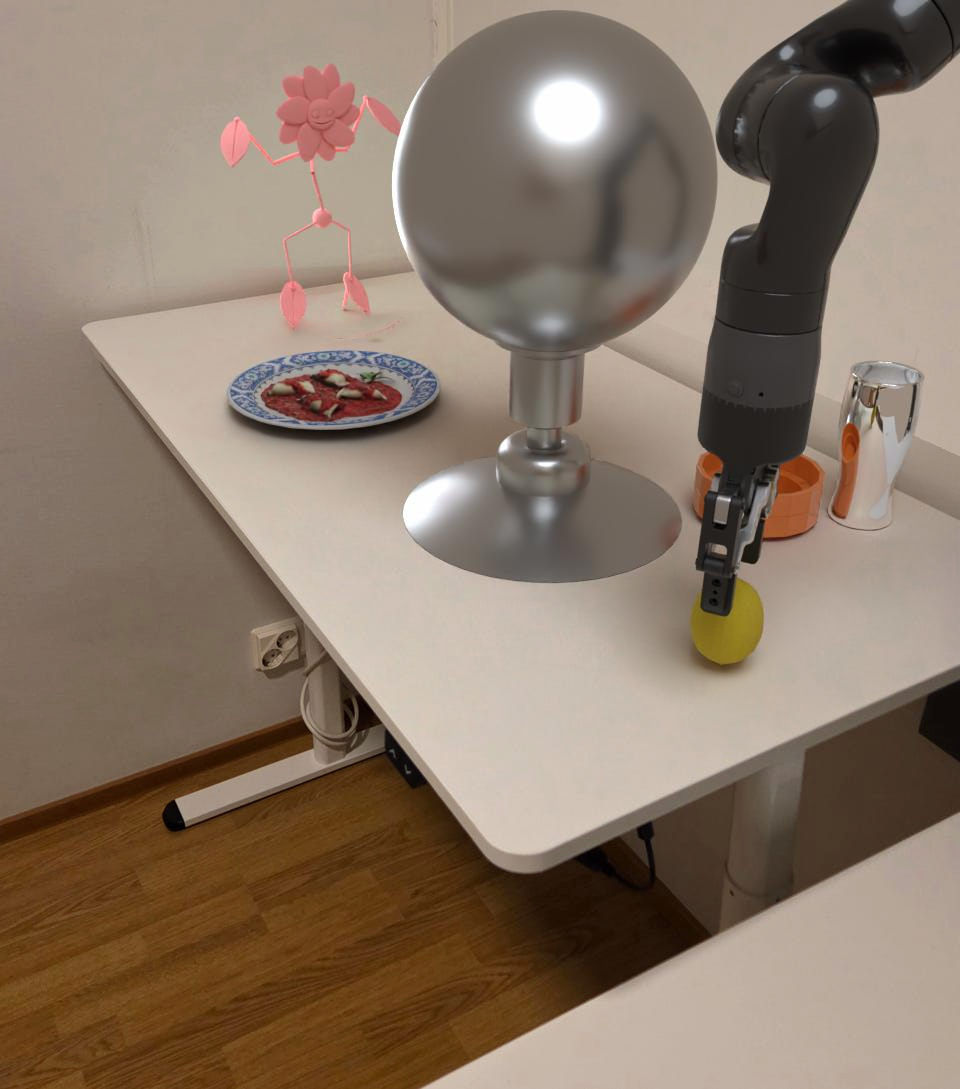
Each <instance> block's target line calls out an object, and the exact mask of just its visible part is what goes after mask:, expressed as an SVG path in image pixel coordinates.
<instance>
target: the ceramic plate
mask: <svg viewBox="0 0 960 1089" xmlns="http://www.w3.org/2000/svg"><path fill="white" fill-rule="evenodd" d="M441 385H442V383H441V380H440V377H439V376H438V375H437V373H435V371H434V370H432V369H431V368H430V367H429V366H426V365H425V364H423V363H421V362H419V361H416V360H414V359H410V358H408V357H404V356H400V355H397V354H392V353H386V352H379V351H372V350H371V351H370V350H358V349H357V350H356V349H355V350H354V349H351V350H350V349H348V350H347V349H332V350H319V351H318V350H317V351H309V352H301V353H294V354H289V355H285V356H280V357H276V358H273V359H270V360H267V361H264V362H261V363H259V364H256V365H253V366H251V367H249V368H247V369H245V370H244V371H242V372H240V373H239V374H238V375H236V376H235V377H234V378H233V379H232V380H231V381H230V382H229V384H228V385H227V387H226V391H225V392H226V394H225V395H226V398H227V402H228V403H229V405H230V406H231V407H232V408H233V409H234V410H235V411H237V412H238V413H240V414H241V415H243V416H245V417H246V418H250V419H252V420H254V421H258V422H260V423H264V424H267V425H271V426H278V427H283V428H289V429H295V430H296V429H299V430H316V431H317V430H319V431H323V430H325V431H329V430H347V429H355V428H356V429H358V428H367V427H371V426H376V425H381V424H384V423H386V424H387V423H389V422H393V421H397V420H399V419H403V418H406V417H408V416H411V415H413V414H416V413H417V412H419V411H421V410H423V409H425V408H426V407H427V406H429V405H431V404H432V403H433V402H434V401H435V399H437V398H438V396H439V394H440V391H441Z"/></svg>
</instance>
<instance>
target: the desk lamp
mask: <svg viewBox="0 0 960 1089" xmlns="http://www.w3.org/2000/svg"><path fill="white" fill-rule="evenodd" d="M709 121H710V120H709V119H708V116H707V113H706V110H705V107H704V106H703V104H702V101H701V99H700V98H699V96H698V93H697V92H696V90H695V88H694V87H693V85H692V83H691V81H689V79H688V77H687V76H686V75H685V73H684V72H683V71H682V69H681V68H680V67H679V66H678V65H677V63H676V62H675V61H674V60H673V59H672V58H671V57H670V56H669V54H667V53H666V52H665V51H664V50H663V49H662V48H660V47H659V46H658V45H657V44H656V43H654V42H653V41H652V40H651V39H649V37H646V36H645V35H644V34H642V33H641V32H639V31H636V29H633V28H632V27H629V26H628V25H626V24H624V23H621V22H619V21H616V20H615V19H612V18H608V17H605V16H603V15H598V14H595V13H590V12H585V11H578V10H568V9H552V10H551V9H550V10H549V9H548V10H539V11H532V12H526V13H522V14H518V15H513V16H510V17H508V18H505V19H502V20H500V21H497V22H495V23H493V24H490V25H488V26H487V27H485V28H482V29H481V30H479V31H477V32H476V33H474V34H473V35H470V36H469V37H468V38H467V39H465V40H463V41H462V42H460V44H459V45H457V46H456V47H454V48H453V49H452V50H451V51H450V52H448V54H447V55H446V56H444V58H443V59H442V60H441V61H439V63H438V64H437V65H436V66H435V67H434V69H433V70H432V71H431V72H430V73H429V74H428V76H427V78H426V79H425V80H424V81H423V83H422V84H421V86H420V87H419V89H418V90H417V93H415V96H414V98H413V99H412V101H411V104H410V105H409V108H408V110H407V112H406V114H405V117H404V119H403V121H402V124H401V130H400V134H399V136H397V137H398V138H397V141H396V145H395V150H394V157H393V163H392V176H391V180H392V182H391V191H392V192H391V193H392V194H391V195H392V205H393V212H394V219H395V223H396V227H397V231H398V234H399V238H400V241H401V244H402V246H403V250H404V252H405V254H406V257H407V258H408V261H409V262H410V265H411V267H412V268H413V271H414V272H415V274H416V275H417V277H418V278H419V280H420V282H421V283H422V284H423V286H424V288H425V289H426V290H427V291H428V292H429V294H430V295H431V297H433V299H434V300H435V301H436V302H437V303H438V304H439V305H440V306H441V307H442V308H443V309H444V310H445V311H446V312H448V314H450V315H451V316H452V317H453V318H455V319H456V320H457V322H460V323H461V324H462V325H464V326H465V327H466V328H469V329H470V330H472V331H474V332H476V334H479V335H480V336H483V337H485V338H487V339H489V340H492V341H493V342H494V344H496V345H497V346H498V347H500V349H501V348H502V349H504V350H506V351H509V384H508V385H509V386H508V387H509V389H508V390H509V391H508V392H509V393H508V394H509V396H508V400H509V401H508V415H509V418H510V419H511V420H512V421H513V422H516V423H517V424H519V425H522V426H524V427H525V426H526V427H527V428H523V429H520V430H516V431H514V432H513V433H511V434H510V435H508V436H507V437H505V439H503V440H502V441H501V442H500V444H499V446H498V449H497V452H496V455H492V456H491V455H490V456H485V457H481V458H477V459H472V460H467V461H464V462H461V463H457V464H455V465H452V466H449V467H447V468H444V469H442V470H440V471H438V472H436V473H434V474H432V475H431V476H429V477H427V478H426V479H424V480H423V481H421V483H419V484H418V485H417V486H415V488H414V489H412V491H411V492H410V494H409V495H408V497H407V499H406V500H405V502H404V506H403V509H402V510H403V511H402V512H403V513H402V518H403V522H404V526H405V528H406V530H407V531H408V532H407V533H408V534H409V535H410V536H411V537H412V539H413V540H414V541H415V542H416V543H417V544H418V545H419V546H420V547H421V548H422V549H424V551H426V552H428V553H429V554H431V555H433V556H434V557H435V558H438V559H440V560H442V561H444V562H446V563H447V564H449V565H453V566H455V567H457V568H460V569H463V570H465V571H469V572H473V573H476V574H479V575H482V576H483V575H485V576H489V577H493V578H497V579H504V580H511V581H518V582H531V583H572V582H573V583H574V582H581V581H583V582H584V581H591V580H598V579H603V578H607V577H611V576H612V577H613V576H616V575H619V574H622V573H627V572H629V571H631V570H634V569H637V568H639V567H642V566H644V565H646V564H649V563H651V562H652V561H654V560H655V559H657V558H659V557H660V556H661V555H663V554H664V553H666V551H667V550H668V549H669V548H671V547H672V546H673V544H674V543H675V542H676V540H677V539H678V537H679V534H680V532H681V530H682V522H683V520H682V514H681V511H680V508H679V506H678V504H677V503H676V501H675V500H674V498H673V497H672V496H671V495H670V494H669V493H668V492H667V491H666V490H665V489H664V488H663V487H661V486H660V485H659V484H657V483H656V482H655V481H652V480H651V479H650V478H648V477H646V476H644V475H642V474H641V473H638V472H636V471H634V470H630V469H628V468H626V467H623V466H621V465H617V464H614V463H610V462H607V461H603V460H599V459H594V458H592V455H591V453H590V448H589V446H588V444H587V443H586V442H585V441H584V440H583V439H581V437H579V436H578V435H577V434H575V433H573V432H571V431H569V430H565V429H563V428H565V427H569V426H571V425H574V424H576V423H577V422H579V421H581V418H582V414H583V413H582V412H583V396H584V377H585V373H584V372H585V359H586V354H587V353H589V352H593V351H594V350H597V349H599V348H600V347H601V346H602V345H603V343H606V342H610V341H613V340H614V339H617V338H619V337H621V336H623V335H625V334H627V333H629V332H630V331H632V330H634V329H636V328H637V327H638V326H640V325H642V324H643V323H644V322H646V321H647V320H649V319H650V318H652V316H654V315H655V314H656V313H657V312H659V311H660V310H661V309H662V308H663V307H664V306H665V305H666V304H668V302H669V301H670V300H671V298H673V296H674V295H675V294H676V293H677V292H678V291H679V289H680V288H681V287H682V285H683V284H685V281H686V280H687V278H688V277H689V275H691V272H692V271H693V269H694V268H695V265H696V264H697V262H698V260H699V258H700V256H701V255H702V251H703V250H704V247H705V245H706V242H707V240H708V236H709V234H710V231H711V228H712V223H713V220H714V216H715V211H716V204H717V196H718V183H719V182H718V179H719V178H718V176H719V175H718V174H719V173H718V158H717V150H716V146H715V145H716V144H715V139H714V135H713V131H712V127H711V125H710V122H709Z"/></svg>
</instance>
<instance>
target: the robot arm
mask: <svg viewBox="0 0 960 1089" xmlns="http://www.w3.org/2000/svg"><path fill="white" fill-rule="evenodd" d="M959 54H960V0H846V1H844V2H843V3H841V4H839V5H838V6H836V7H834V8H833V9H831V10H829V11H828V12H826V13H824V14H821V16H818V17H817V18H816V19H814V20H812V21H811V22H809V23H808V24H806V25H805V26H804V27H802V28H800V29H799V30H798V31H796V32H795V33H793V34H791V35H790V36H789V37H787V38H785V39H784V40H782V41H781V42H779V43H778V44H777V45H775V46H773V47H772V48H771V49H769V50H768V51H767V52H765V53H764V54H763V55H761V56H760V57H759V58H758V59H756V60H755V61H754V62H753V63H751V65H749V67H748V68H746V70H745V71H744V72H742V74H741V75H740V76H739V77H738V78H737V79H736V81H735V82H734V83H733V84H732V86H731V87H730V89H729V91H728V92H727V93H726V96H725V97H724V99H723V101H722V103H721V106H720V108H719V111H718V114H717V117H716V118H717V119H716V123H715V131H714V132H715V133H714V134H715V143H716V144H715V145H716V147H717V150H718V153H719V155H720V157H721V159H722V160H723V162H724V163H725V165H726V166H727V167H728V168H730V169H731V170H732V171H733V172H734V173H736V174H738V176H741V177H743V178H746V179H749V180H751V181H754V182H757V183H760V184H764V185H766V186H769V189H768V190H769V191H768V196H767V200H766V203H765V205H764V208H763V211H762V214H761V217H760V219H759V222H754V223H750V224H745V225H743V226H741V227H739V228H737V229H736V230H734V231H733V232H732V233H731V234H730V235H729V237H728V238H727V240H726V243H725V245H724V248H723V252H722V255H721V256H722V257H721V262H720V270H719V279H718V287H717V288H718V289H717V296H716V304H715V314H714V318H713V323H712V324H713V325H712V329H711V332H710V335H709V339H708V343H707V349H706V357H705V367H704V375H703V383H702V391H701V398H700V409H699V415H698V416H699V417H698V425H697V441H698V442H699V444H700V445H701V447H702V448H703V449H704V450H705V451H706V452H707V451H708V452H709V453H711V454H714V455H715V456H717V457H718V458H719V459H720V460H721V461H722V462H723V464H722V470H721V472H717V471H716V472H715V474H714V477H713V480H712V484H711V488H710V490H711V491H710V490H708V492H707V494H706V495H705V497H704V502H705V503H704V510H703V517H702V518H701V524H700V533H699V538H698V539H699V541H698V547H697V553H696V558H695V562H694V565H695V571H697V572H702V573H703V579H702V587H701V589H702V594H701V602H700V607H701V609H702V610H703V611H704V612H707V613H711V614H715V615H719V616H723V617H726V616H728V615H729V614H730V612H731V610H732V607H733V600H734V593H735V586H736V580H737V578H738V572H739V571H740V570H741V565H742V563H744V564H749V565H756V564H757V563H758V562H759V559H760V557H761V552H762V546H763V540H764V538H763V534H764V528H765V521H766V520H763V519H762V518H766V519H767V518H768V516H769V515H770V514H771V510H772V508H771V507H772V506H773V502H774V500H775V498H777V495H778V492H777V487H778V480H779V473H780V467H781V464H783V463H787V462H790V461H792V460H794V459H796V458H798V457H799V456H800V455H801V454H803V453H804V452H805V450H806V448H807V443H808V437H809V431H810V426H811V419H812V414H813V407H814V401H815V395H816V390H817V385H818V384H817V383H818V378H819V373H820V366H821V358H822V334H823V323H824V317H825V312H826V307H827V300H828V294H829V289H830V281H831V274H832V266H833V263H834V261H835V258H836V257H837V254H838V252H839V250H840V248H841V246H842V244H843V242H844V240H845V238H846V235H847V233H848V231H849V229H850V227H851V224H852V221H853V220H854V217H855V215H856V213H857V210H858V208H859V205H860V203H861V201H862V198H863V196H864V193H865V192H866V189H867V186H868V184H869V182H870V180H871V176H872V175H873V171H874V169H875V166H876V162H877V159H878V153H879V146H880V128H881V127H880V119H879V118H880V117H879V113H878V109H877V104H876V103H875V100H874V99H876V98H880V97H887V96H896V95H903V94H907V93H911V92H914V91H917V89H920V88H921V87H923V86H924V85H926V84H927V83H928V82H929V81H931V80H932V79H933V78H934V77H936V75H938V74H939V73H940V72H941V71H942V70H943V69H945V68H946V66H948V64H950V63H951V62H952V61H953V60H954V59H956V57H958V55H959ZM717 546H721V547H725V549H726V554H724V553H719V552H715V551H716V547H717Z"/></svg>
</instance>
